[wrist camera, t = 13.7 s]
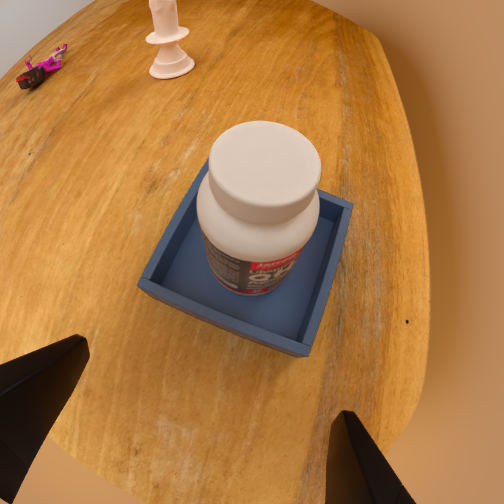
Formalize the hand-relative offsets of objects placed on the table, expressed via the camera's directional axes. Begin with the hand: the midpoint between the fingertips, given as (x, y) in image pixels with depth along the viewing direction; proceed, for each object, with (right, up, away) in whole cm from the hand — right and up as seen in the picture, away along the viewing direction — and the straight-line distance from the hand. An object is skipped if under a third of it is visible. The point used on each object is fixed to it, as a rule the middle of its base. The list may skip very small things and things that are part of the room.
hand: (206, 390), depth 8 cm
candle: (-8, +26, +19) cm, 33 cm away
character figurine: (-30, +32, +20) cm, 48 cm away
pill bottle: (+1, +4, +10) cm, 11 cm away
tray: (+1, +4, +11) cm, 12 cm away
